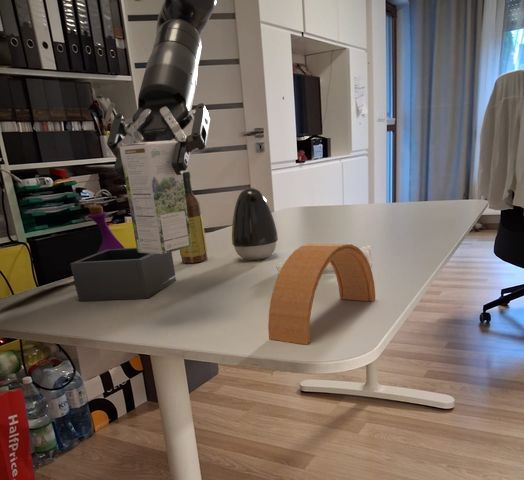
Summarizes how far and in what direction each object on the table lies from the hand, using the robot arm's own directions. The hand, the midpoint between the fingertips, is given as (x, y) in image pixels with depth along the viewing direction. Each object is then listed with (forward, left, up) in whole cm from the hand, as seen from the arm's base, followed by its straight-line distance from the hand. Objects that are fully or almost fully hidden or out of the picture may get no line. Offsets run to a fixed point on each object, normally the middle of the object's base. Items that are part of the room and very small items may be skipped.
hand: (149, 173), depth 70 cm
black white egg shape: (+1, +45, -21) cm, 50 cm away
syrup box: (0, +1, -11) cm, 11 cm away
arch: (+23, +1, -21) cm, 31 cm away
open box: (-18, +20, -21) cm, 34 cm away
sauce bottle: (-14, +45, -21) cm, 52 cm away
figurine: (+18, +29, -21) cm, 40 cm away
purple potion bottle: (-30, +37, -21) cm, 52 cm away
